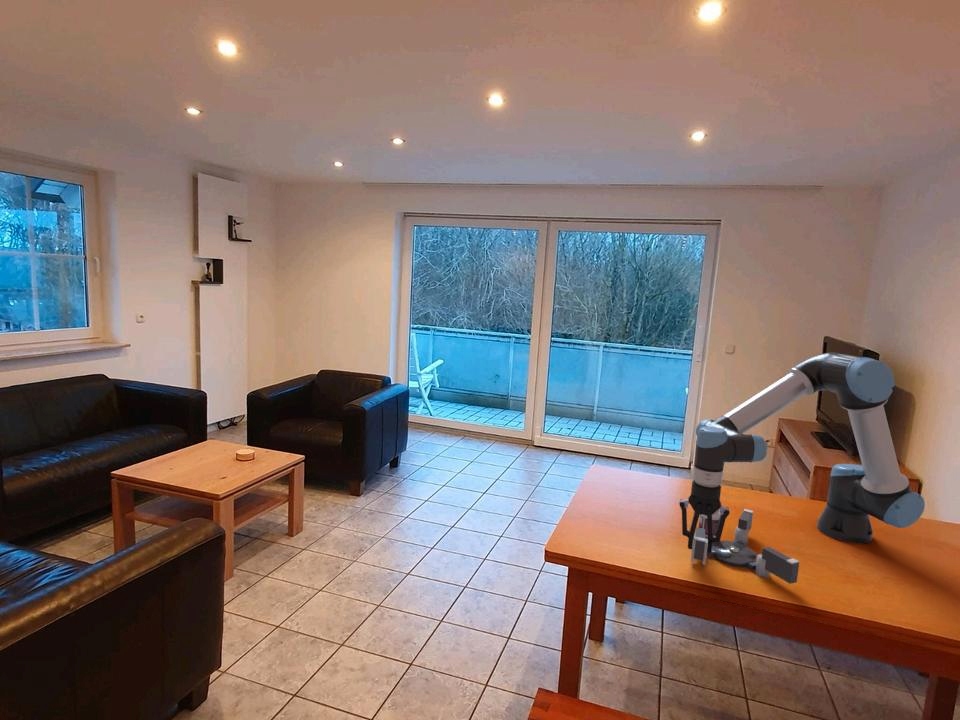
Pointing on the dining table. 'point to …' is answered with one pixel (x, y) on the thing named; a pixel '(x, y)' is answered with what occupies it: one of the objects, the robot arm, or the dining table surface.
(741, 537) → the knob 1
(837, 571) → the dining table surface
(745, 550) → the base
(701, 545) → the dark bar with dome
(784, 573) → the grey bar white cap
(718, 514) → the pill bottle
